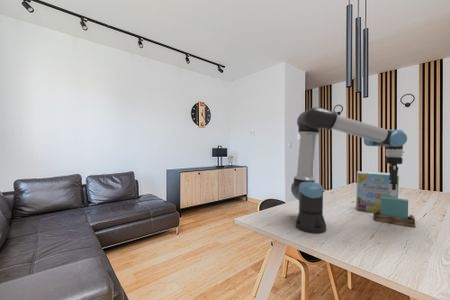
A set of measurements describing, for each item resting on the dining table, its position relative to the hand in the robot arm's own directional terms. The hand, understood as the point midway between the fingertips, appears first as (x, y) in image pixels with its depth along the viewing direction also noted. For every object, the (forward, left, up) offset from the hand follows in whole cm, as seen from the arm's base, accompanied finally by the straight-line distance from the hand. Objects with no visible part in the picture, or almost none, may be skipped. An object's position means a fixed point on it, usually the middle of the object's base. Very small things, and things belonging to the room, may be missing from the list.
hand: (392, 193), depth 118 cm
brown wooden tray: (0, 0, -16) cm, 16 cm away
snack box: (+15, +8, -16) cm, 23 cm away
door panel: (0, -1, -15) cm, 15 cm away
